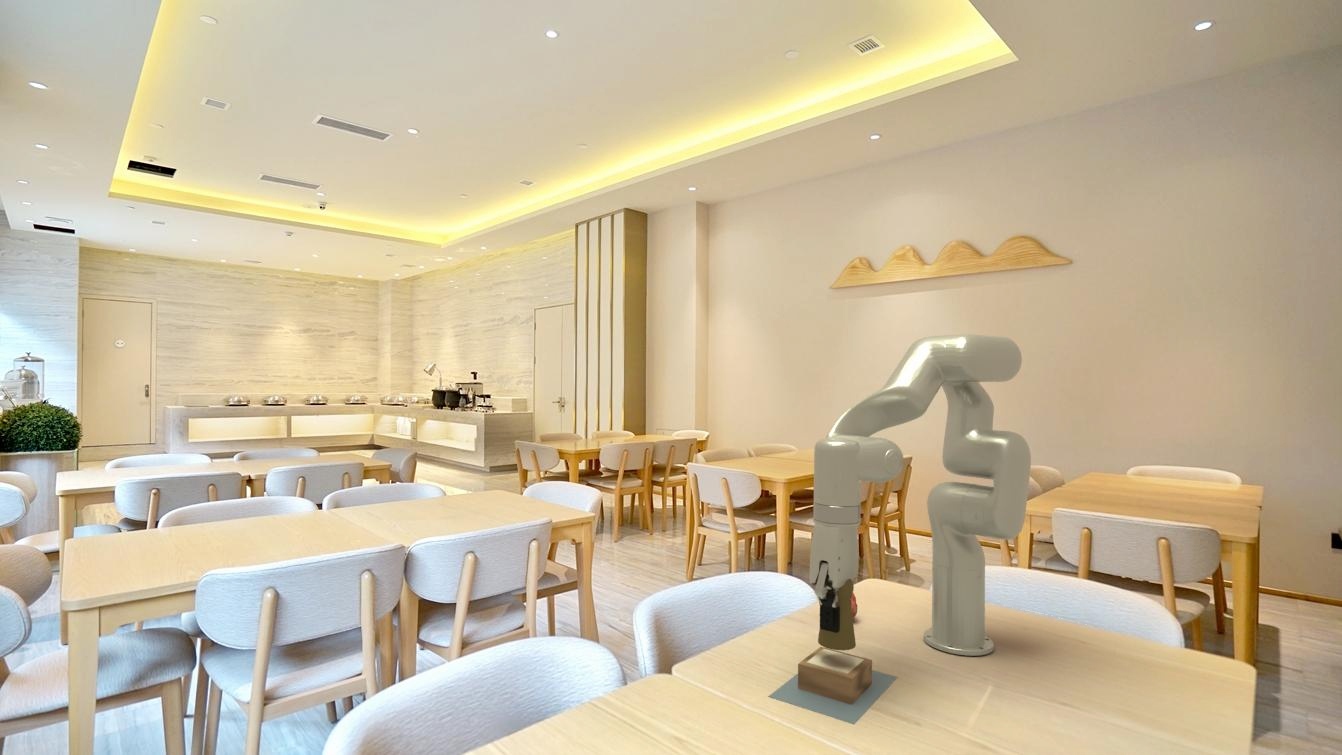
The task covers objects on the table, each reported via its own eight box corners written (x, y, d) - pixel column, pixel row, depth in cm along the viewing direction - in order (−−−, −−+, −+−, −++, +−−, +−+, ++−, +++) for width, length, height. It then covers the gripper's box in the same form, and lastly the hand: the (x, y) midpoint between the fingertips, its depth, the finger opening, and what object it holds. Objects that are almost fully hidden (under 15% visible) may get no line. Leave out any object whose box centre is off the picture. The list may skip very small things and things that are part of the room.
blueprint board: (819, 661, 120) (819, 656, 120) (897, 682, 111) (897, 677, 111) (768, 702, 103) (768, 696, 104) (854, 731, 95) (854, 724, 95)
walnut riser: (820, 670, 114) (820, 645, 114) (871, 684, 108) (871, 658, 108) (797, 688, 106) (798, 662, 107) (851, 704, 101) (851, 677, 101)
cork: (857, 652, 104) (857, 581, 104) (818, 648, 105) (818, 579, 105) (854, 638, 110) (855, 572, 110) (817, 635, 111) (818, 569, 111)
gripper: (834, 505, 117) (833, 608, 117) (793, 518, 104) (791, 635, 103) (876, 510, 113) (875, 618, 112) (839, 525, 99) (837, 647, 99)
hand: (835, 625), depth 108 cm, fingers closed on cork, 4 cm apart
